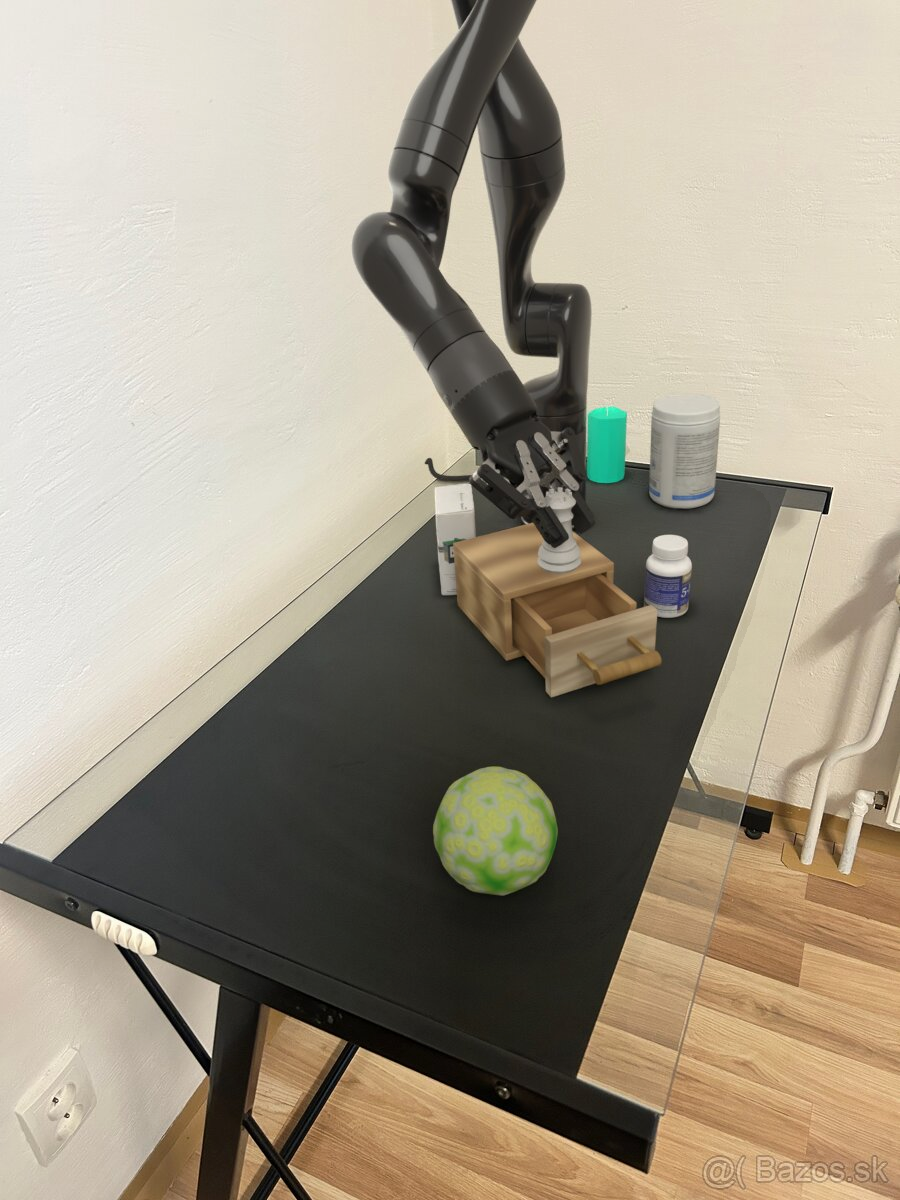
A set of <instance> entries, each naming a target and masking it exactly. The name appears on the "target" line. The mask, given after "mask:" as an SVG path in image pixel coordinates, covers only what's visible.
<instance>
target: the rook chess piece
mask: <svg viewBox="0 0 900 1200" xmlns="http://www.w3.org/2000/svg"><path fill="white" fill-rule="evenodd" d="M545 500H546V506H545V507H548V506H550V507H551V508H552V510H553V511H554V513H555V514H556V516H557V517H558V519H559V521H560V522H561V524H562V525H563V527H564V528H565V530H566V531H567V533H568V535H569V539H568V540H567V541H566V542H564V543H563V544H562V545H560V546H558V547H557V548H553V547H552V546H551V545H550V544H548V543H546V542H545V541H544V540H543V542H542V545H541V546H540V547H539V551H538V556H539V557H538V561H537V562H538V564H539V566H540V567H541V568H542V569H543V570H545V571H546V572H549V573H553V574H565V573H570V572H572V571H574V570H575V569H576V568H577V567H578V566H579V565H580V564H581V558H580V554H581V551H580V548H579V547H578V545H577V544H576V541H575V539H574V537H573V532H574V531H573V530H572V525H571V519H572V518H573V513H572V512H571V509H572V507H573V506H574V505H575V504H576V500H575V499H574V498H573V497H572V492H570V490H569V489H565V492H563V488H562V487H558V492H554V489H553V488H552V489H549V492H546V497H545ZM572 531H573V532H572Z"/></svg>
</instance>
